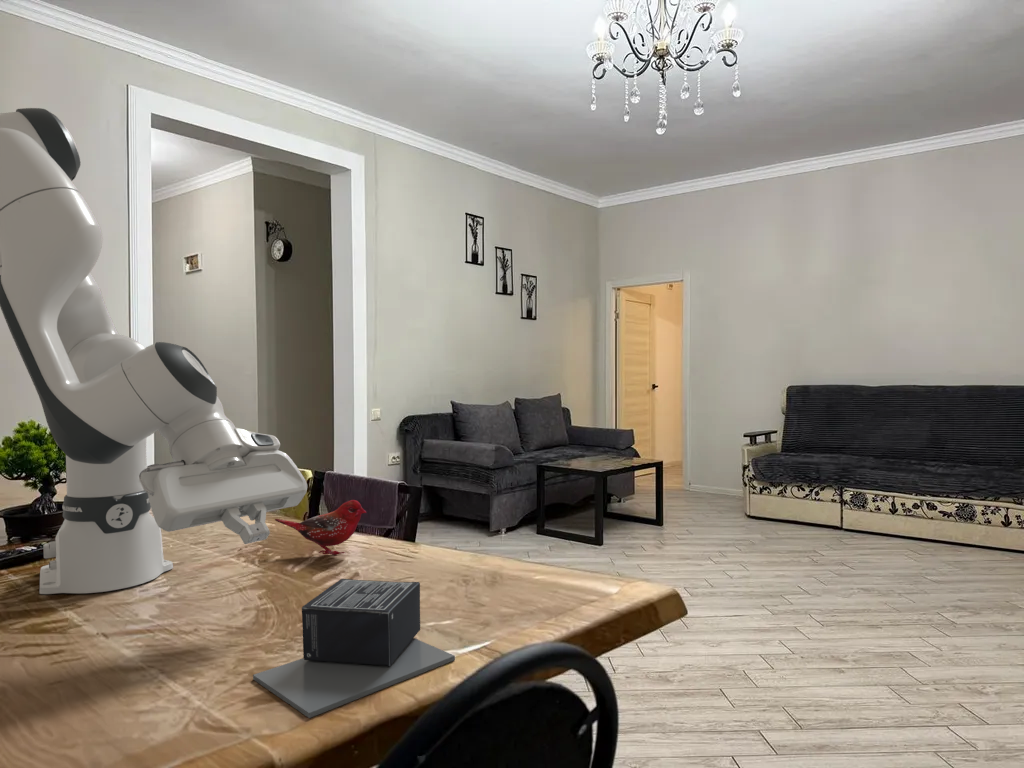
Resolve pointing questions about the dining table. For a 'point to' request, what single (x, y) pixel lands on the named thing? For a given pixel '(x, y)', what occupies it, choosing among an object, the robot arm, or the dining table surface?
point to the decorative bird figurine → (330, 526)
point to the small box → (361, 621)
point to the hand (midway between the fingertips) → (258, 539)
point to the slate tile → (345, 678)
